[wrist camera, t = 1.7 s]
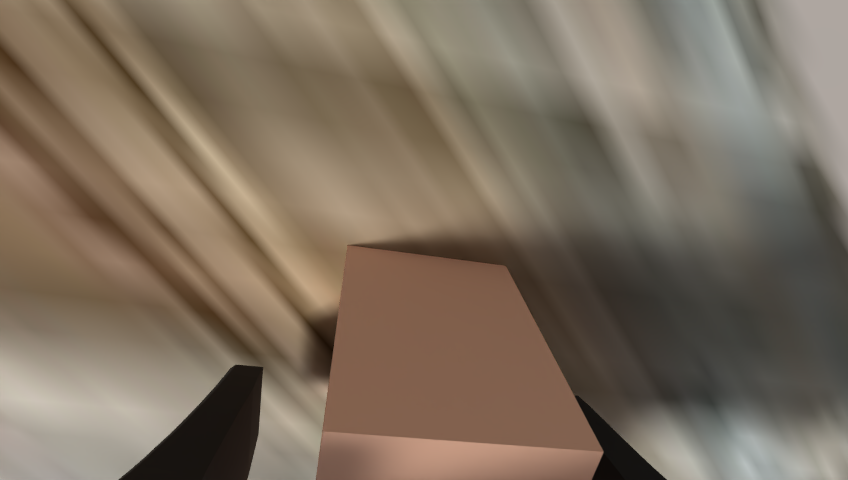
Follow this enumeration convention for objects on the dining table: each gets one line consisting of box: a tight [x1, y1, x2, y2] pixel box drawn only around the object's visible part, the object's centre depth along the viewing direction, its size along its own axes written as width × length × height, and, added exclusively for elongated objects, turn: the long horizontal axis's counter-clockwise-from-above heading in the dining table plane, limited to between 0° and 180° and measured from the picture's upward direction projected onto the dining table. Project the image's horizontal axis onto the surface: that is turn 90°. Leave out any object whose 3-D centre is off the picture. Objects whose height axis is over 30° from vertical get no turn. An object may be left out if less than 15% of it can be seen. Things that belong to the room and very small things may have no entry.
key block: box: [316, 245, 603, 480], centre depth 11 cm, size 4×7×6 cm, turn 170°
